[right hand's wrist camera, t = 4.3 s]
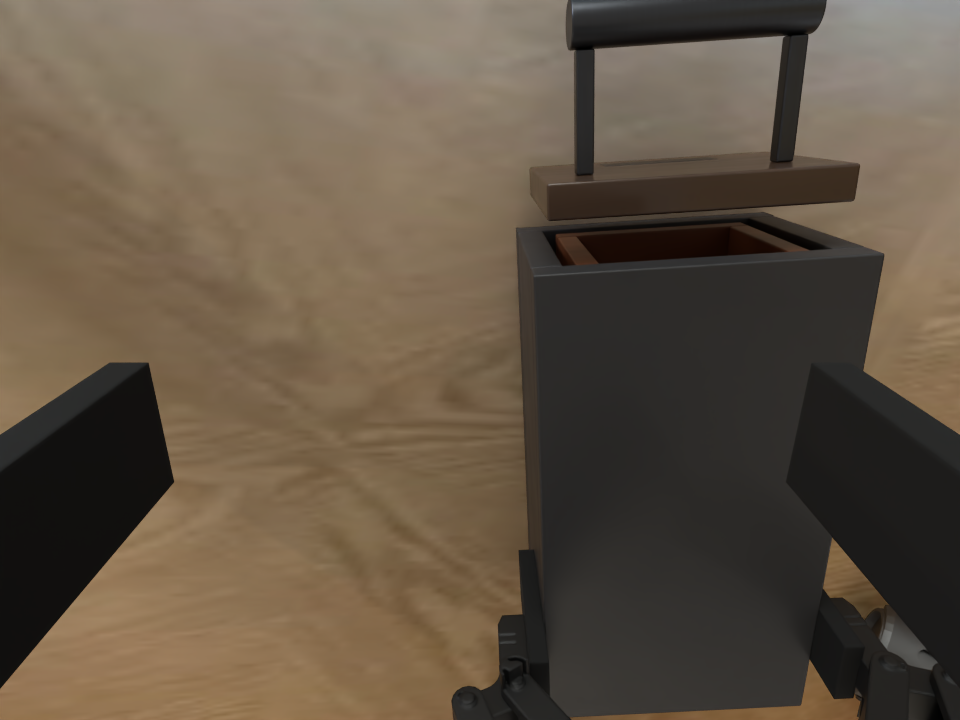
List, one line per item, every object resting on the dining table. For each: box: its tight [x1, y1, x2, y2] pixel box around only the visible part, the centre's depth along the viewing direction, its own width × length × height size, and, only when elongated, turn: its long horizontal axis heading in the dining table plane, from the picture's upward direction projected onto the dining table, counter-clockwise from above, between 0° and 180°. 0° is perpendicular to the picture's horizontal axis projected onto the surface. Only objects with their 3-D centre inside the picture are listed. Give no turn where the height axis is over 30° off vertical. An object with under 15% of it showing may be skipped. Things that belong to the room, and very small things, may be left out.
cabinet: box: [516, 212, 884, 717], centre depth 27 cm, size 20×11×9 cm, turn 4°
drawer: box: [530, 0, 860, 266], centre depth 25 cm, size 24×10×7 cm, turn 4°
